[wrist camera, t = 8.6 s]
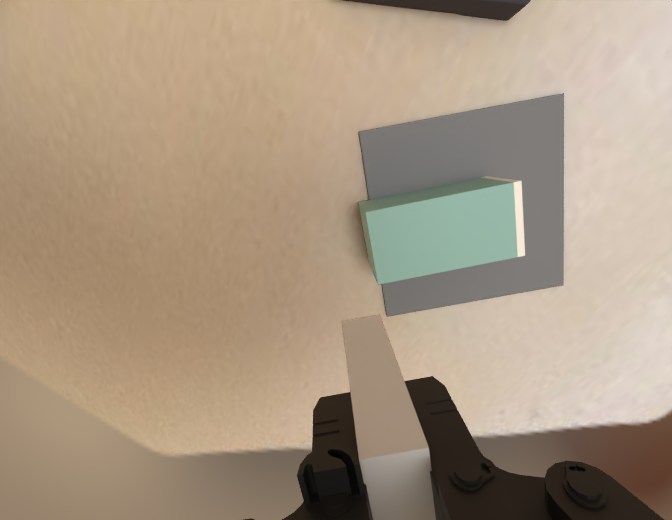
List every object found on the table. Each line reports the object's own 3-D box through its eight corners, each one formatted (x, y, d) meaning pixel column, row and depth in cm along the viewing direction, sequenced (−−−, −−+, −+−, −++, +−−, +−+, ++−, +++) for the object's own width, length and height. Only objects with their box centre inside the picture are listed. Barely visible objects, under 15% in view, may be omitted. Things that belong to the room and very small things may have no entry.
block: (365, 212, 27) (521, 180, 27) (358, 202, 33) (486, 176, 33) (378, 284, 29) (525, 255, 29) (369, 263, 35) (491, 238, 35)
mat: (358, 132, 32) (359, 131, 32) (560, 94, 32) (563, 93, 31) (386, 314, 37) (387, 316, 37) (560, 283, 37) (563, 285, 36)
